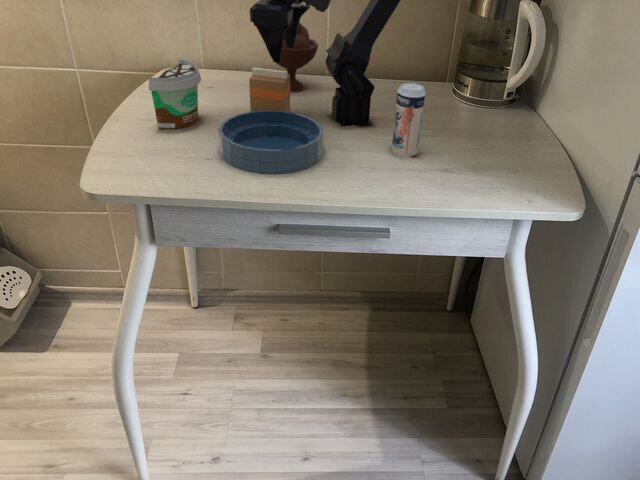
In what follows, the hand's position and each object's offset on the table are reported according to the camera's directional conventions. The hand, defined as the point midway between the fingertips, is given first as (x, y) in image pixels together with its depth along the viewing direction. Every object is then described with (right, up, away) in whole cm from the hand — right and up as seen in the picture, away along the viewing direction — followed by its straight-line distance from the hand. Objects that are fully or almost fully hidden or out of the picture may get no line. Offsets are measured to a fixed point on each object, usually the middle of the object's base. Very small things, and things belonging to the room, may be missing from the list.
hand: (283, 54), depth 107 cm
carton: (-4, -9, +9) cm, 13 cm away
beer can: (+22, -18, 0) cm, 28 cm away
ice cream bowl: (-1, +2, +24) cm, 24 cm away
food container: (-19, -12, +4) cm, 22 cm away
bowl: (-2, -18, -4) cm, 19 cm away
